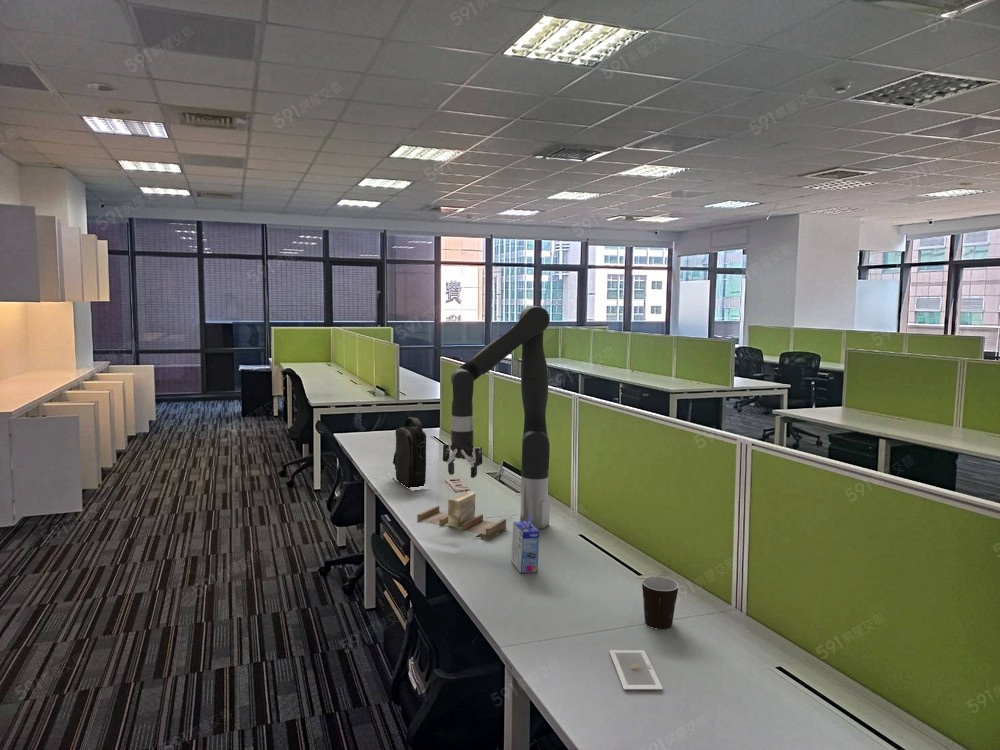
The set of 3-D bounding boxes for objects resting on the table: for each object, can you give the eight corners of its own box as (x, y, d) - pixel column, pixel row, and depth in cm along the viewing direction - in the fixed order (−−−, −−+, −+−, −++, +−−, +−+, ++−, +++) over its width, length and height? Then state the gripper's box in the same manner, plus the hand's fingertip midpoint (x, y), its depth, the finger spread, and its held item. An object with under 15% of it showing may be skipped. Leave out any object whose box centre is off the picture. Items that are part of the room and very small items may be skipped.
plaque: (438, 477, 292) (460, 475, 295) (438, 480, 292) (460, 478, 295) (457, 499, 260) (482, 497, 263) (457, 502, 260) (482, 500, 263)
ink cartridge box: (539, 572, 193) (540, 523, 191) (520, 574, 191) (521, 524, 190) (528, 559, 202) (529, 512, 201) (510, 561, 201) (511, 513, 199)
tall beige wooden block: (475, 518, 234) (475, 493, 233) (458, 527, 224) (458, 501, 223) (464, 516, 236) (465, 491, 235) (447, 525, 226) (447, 499, 225)
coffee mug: (650, 611, 170) (652, 573, 168) (682, 622, 164) (684, 582, 163) (627, 628, 161) (629, 587, 159) (661, 640, 155) (663, 598, 154)
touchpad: (623, 694, 134) (624, 684, 134) (608, 655, 149) (609, 645, 149) (662, 694, 134) (663, 683, 134) (644, 655, 149) (644, 645, 149)
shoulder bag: (432, 488, 276) (433, 421, 273) (411, 491, 271) (412, 422, 268) (410, 476, 295) (411, 412, 292) (391, 478, 291) (391, 414, 288)
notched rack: (505, 529, 229) (506, 519, 228) (488, 539, 218) (488, 529, 218) (436, 515, 242) (437, 505, 242) (417, 524, 232) (417, 514, 231)
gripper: (486, 428, 226) (486, 476, 228) (450, 424, 233) (450, 470, 235) (474, 432, 220) (474, 481, 222) (438, 428, 227) (438, 475, 228)
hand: (462, 475), depth 228 cm, fingers open, 8 cm apart
